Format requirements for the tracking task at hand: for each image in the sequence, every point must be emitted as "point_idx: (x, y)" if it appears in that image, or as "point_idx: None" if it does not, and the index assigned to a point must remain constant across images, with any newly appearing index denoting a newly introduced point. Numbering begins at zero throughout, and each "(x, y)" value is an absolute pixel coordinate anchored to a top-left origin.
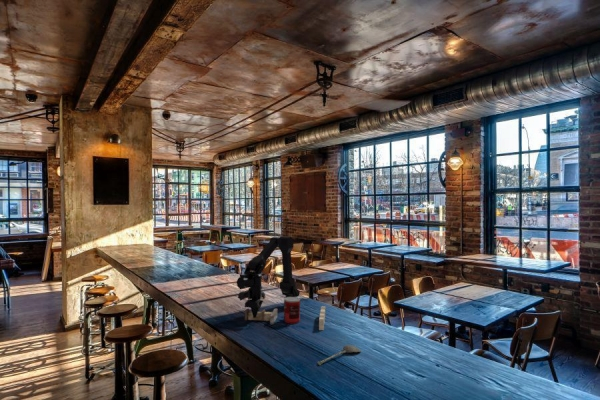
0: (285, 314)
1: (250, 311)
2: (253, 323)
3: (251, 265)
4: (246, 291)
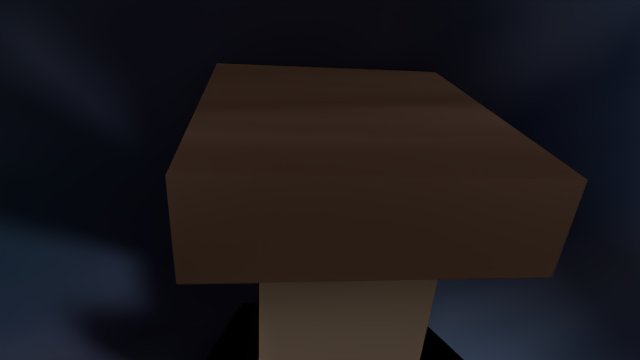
0: None
1: (410, 285)
2: (43, 303)
3: None
4: None
